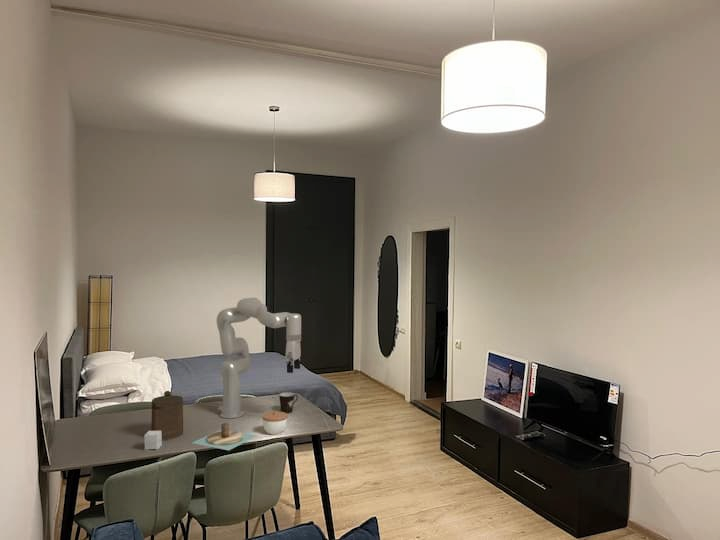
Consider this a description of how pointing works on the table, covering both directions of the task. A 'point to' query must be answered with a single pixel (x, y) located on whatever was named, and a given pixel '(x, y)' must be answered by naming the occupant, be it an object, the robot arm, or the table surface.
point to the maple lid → (224, 436)
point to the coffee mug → (287, 402)
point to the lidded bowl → (274, 422)
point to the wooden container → (168, 415)
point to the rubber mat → (226, 447)
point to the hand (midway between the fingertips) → (293, 370)
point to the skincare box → (153, 439)
